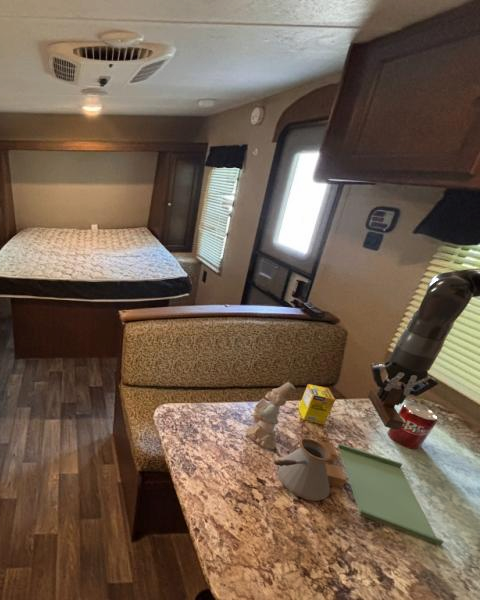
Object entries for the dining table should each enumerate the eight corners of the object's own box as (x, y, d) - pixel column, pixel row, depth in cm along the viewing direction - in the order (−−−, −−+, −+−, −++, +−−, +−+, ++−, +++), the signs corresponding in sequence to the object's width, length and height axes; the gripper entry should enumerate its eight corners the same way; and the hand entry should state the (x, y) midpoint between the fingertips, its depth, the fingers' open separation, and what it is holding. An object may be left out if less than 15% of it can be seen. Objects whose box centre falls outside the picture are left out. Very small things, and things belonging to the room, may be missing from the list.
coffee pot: (292, 459, 88) (309, 418, 82) (336, 497, 78) (360, 453, 72) (236, 486, 80) (251, 443, 74) (277, 531, 70) (299, 486, 64)
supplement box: (323, 427, 100) (336, 399, 95) (302, 421, 101) (313, 395, 97) (317, 414, 105) (329, 387, 100) (296, 409, 106) (307, 383, 102)
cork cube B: (334, 477, 83) (340, 467, 82) (340, 491, 80) (346, 480, 78) (316, 472, 84) (322, 462, 83) (322, 485, 81) (327, 475, 79)
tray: (397, 468, 87) (401, 463, 86) (438, 548, 68) (443, 542, 67) (336, 448, 92) (339, 443, 91) (358, 517, 74) (362, 511, 73)
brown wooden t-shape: (379, 399, 94) (392, 374, 91) (399, 431, 83) (415, 404, 79) (367, 395, 96) (379, 371, 92) (384, 427, 84) (399, 400, 80)
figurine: (280, 438, 95) (302, 384, 87) (273, 454, 89) (295, 399, 81) (249, 422, 100) (266, 370, 92) (240, 436, 95) (258, 383, 87)
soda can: (416, 456, 91) (437, 424, 86) (383, 439, 96) (401, 409, 91) (420, 443, 95) (439, 413, 90) (388, 428, 100) (405, 399, 95)
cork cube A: (328, 455, 90) (333, 444, 88) (331, 466, 86) (337, 455, 85) (312, 449, 91) (316, 439, 90) (314, 460, 88) (319, 449, 86)
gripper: (388, 348, 80) (361, 401, 87) (462, 363, 75) (427, 419, 82) (377, 335, 86) (353, 386, 93) (445, 348, 81) (414, 401, 88)
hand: (388, 401), depth 88 cm, fingers closed on brown wooden t-shape, 2 cm apart
